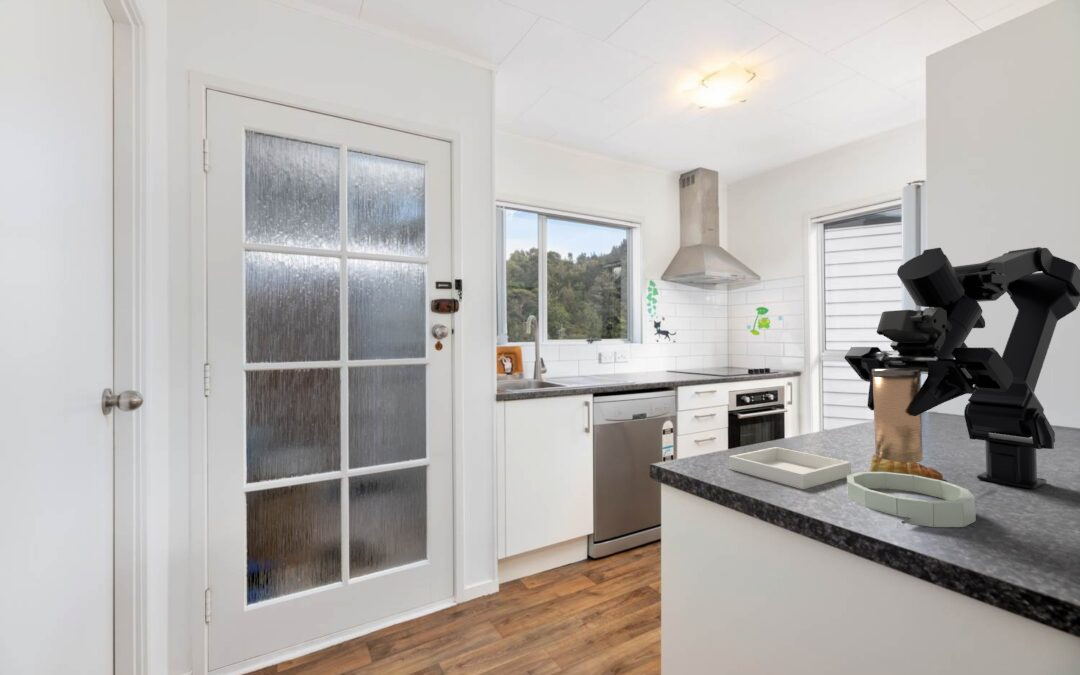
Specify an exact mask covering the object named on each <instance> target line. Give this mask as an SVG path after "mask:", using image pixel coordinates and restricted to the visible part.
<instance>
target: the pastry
mask: <svg viewBox="0 0 1080 675" xmlns="http://www.w3.org/2000/svg"><path fill="white" fill-rule="evenodd" d="M870 461H871V462H870V465H869V471H868V472H891V473H900V474H910V475H917V476H921V477H926V478H931V479H936V480H941V481H944V480H943V479H944V478H943V476H944V475H943V473H941V472H939V471H938V470H936V469H934V468H933V467H930V466H928V467H927V466H926V465H922V464H921V463H920V462H913V463H910V462H897V461H890V460H885V459H881V458H878V457H877V456H876V455H875V453H874V454H873V455H872V457H871V460H870Z"/></svg>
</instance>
